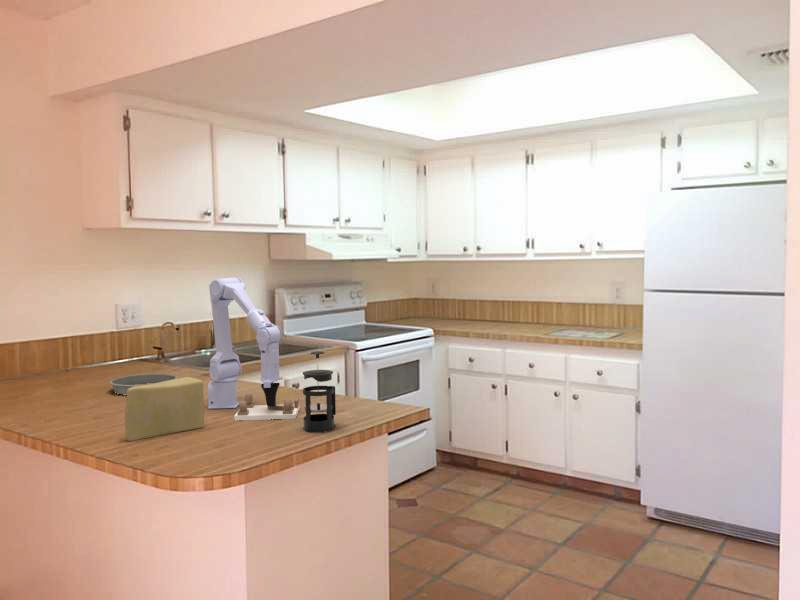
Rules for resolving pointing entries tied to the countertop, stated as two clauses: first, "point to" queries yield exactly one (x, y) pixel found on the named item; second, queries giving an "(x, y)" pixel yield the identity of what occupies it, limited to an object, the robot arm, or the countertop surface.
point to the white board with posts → (265, 410)
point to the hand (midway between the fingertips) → (271, 405)
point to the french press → (318, 420)
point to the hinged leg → (277, 407)
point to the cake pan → (138, 381)
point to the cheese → (164, 408)
